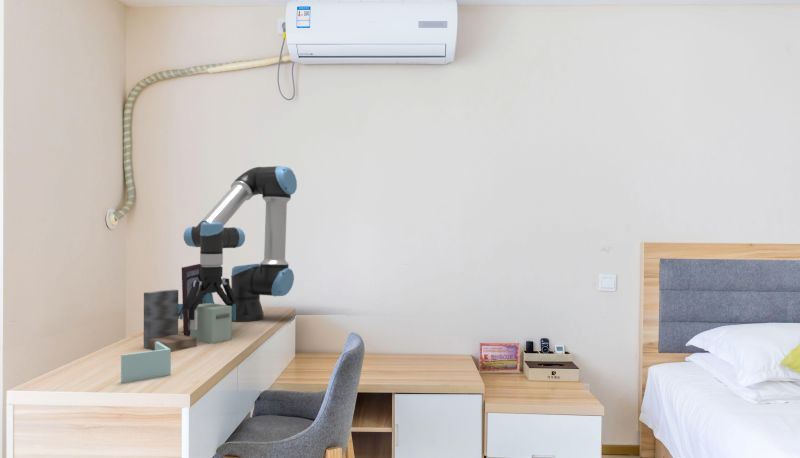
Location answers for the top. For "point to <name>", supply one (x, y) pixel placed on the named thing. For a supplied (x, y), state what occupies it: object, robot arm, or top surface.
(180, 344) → the grey bookend
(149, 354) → the l-shaped corner panel
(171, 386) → the top surface
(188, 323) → the picture frame
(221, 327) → the cabinet box
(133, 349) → the top surface
